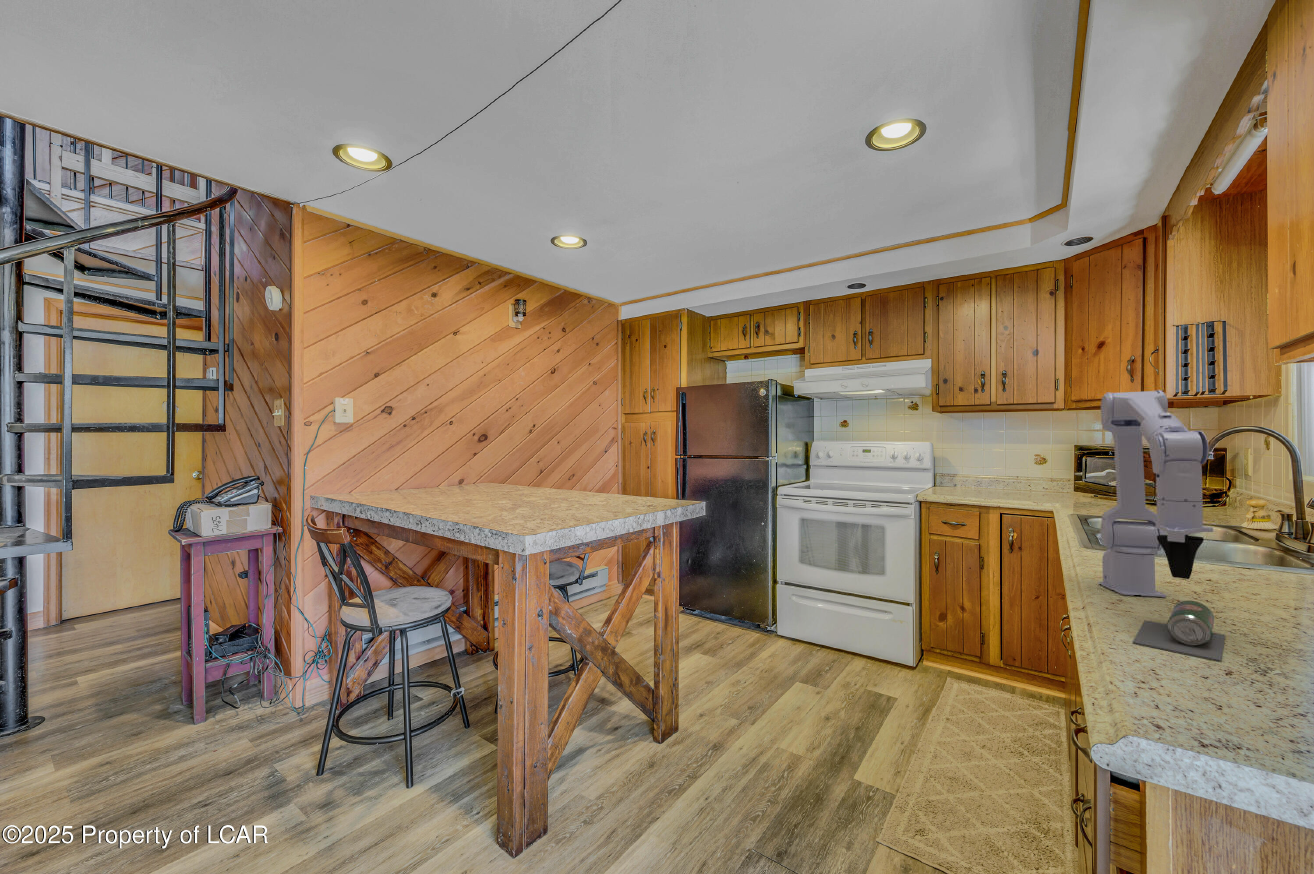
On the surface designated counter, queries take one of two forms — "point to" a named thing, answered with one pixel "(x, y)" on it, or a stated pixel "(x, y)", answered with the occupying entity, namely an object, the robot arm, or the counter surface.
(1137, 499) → the robot arm
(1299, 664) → the counter surface
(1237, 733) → the counter surface
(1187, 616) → the soda can
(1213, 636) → the mat
